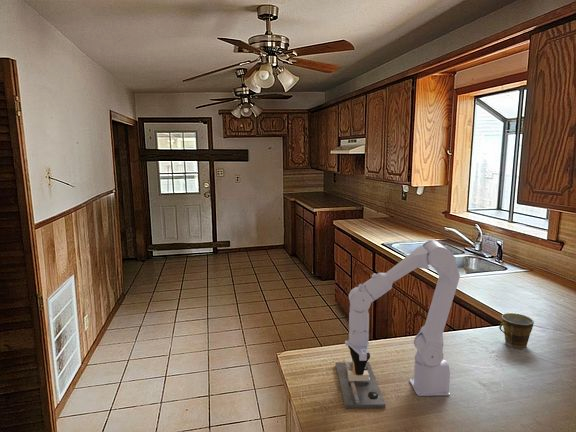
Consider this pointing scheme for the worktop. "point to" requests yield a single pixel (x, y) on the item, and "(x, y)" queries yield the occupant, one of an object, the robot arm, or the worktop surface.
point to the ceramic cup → (516, 329)
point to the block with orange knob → (354, 377)
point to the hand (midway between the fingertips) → (358, 370)
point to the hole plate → (358, 388)
